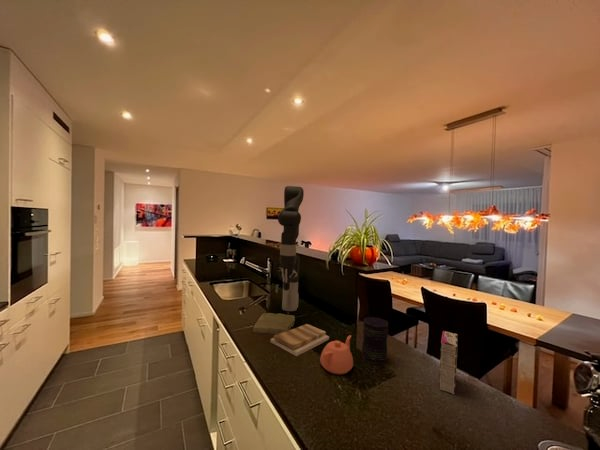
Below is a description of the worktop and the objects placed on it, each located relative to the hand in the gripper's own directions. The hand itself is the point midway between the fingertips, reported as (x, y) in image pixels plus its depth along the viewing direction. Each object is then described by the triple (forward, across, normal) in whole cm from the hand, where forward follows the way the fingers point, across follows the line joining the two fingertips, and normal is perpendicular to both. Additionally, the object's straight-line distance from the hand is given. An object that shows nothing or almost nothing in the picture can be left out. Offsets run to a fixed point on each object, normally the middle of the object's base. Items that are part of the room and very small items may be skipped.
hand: (286, 289), depth 121 cm
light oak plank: (+20, -10, -9) cm, 24 cm away
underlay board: (+21, -10, -1) cm, 23 cm away
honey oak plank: (+19, -9, +2) cm, 22 cm away
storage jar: (+21, -40, -13) cm, 47 cm away
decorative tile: (+23, +10, -4) cm, 25 cm away
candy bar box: (+20, -66, -16) cm, 71 cm away
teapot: (+21, -32, +3) cm, 39 cm away
